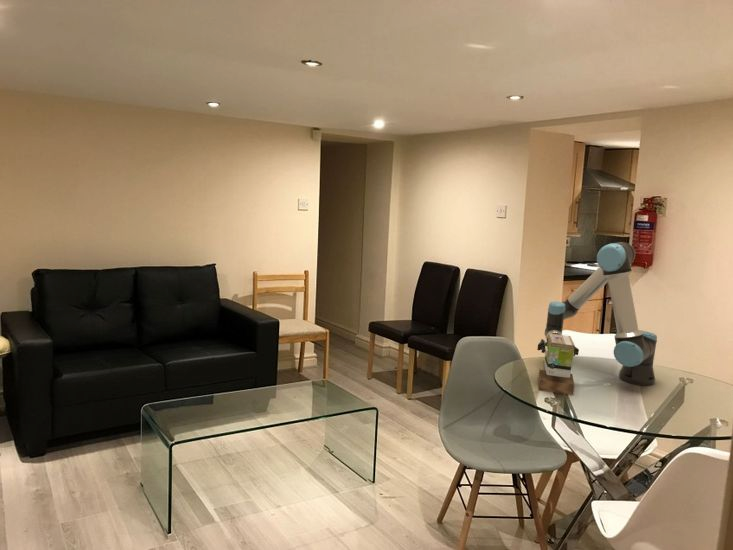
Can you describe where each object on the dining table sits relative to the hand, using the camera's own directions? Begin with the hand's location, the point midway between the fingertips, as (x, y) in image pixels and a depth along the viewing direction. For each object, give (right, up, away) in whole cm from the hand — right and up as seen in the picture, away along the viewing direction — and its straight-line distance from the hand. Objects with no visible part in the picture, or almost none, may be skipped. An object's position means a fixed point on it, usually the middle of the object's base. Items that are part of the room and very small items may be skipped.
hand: (559, 355), depth 252 cm
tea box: (0, -8, +5) cm, 9 cm away
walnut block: (0, -15, +6) cm, 16 cm away
